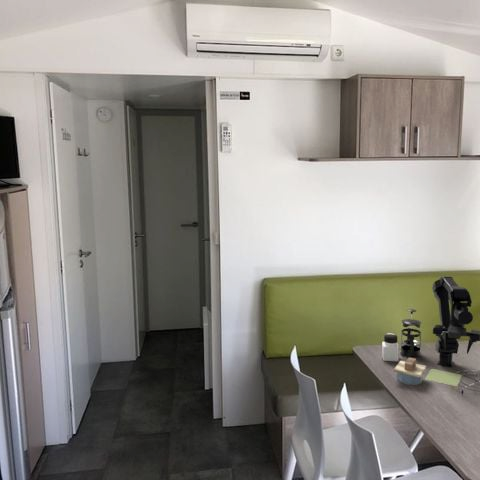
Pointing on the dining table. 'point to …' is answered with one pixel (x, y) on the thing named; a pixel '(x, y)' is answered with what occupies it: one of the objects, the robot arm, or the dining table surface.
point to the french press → (410, 338)
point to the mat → (443, 377)
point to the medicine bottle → (390, 348)
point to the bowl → (409, 379)
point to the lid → (410, 367)
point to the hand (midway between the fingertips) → (455, 351)
